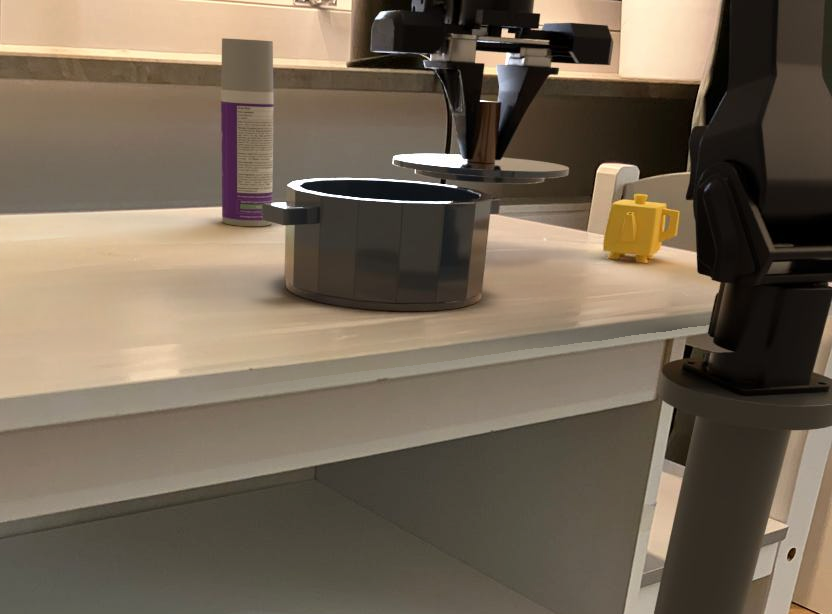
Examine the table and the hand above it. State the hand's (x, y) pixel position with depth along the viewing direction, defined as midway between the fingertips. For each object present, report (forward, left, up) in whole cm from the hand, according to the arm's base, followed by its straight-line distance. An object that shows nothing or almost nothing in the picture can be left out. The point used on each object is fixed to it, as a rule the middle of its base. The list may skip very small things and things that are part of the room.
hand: (481, 159), depth 87 cm
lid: (0, 0, -1) cm, 1 cm away
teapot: (-4, -14, -8) cm, 16 cm away
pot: (-16, +14, -7) cm, 22 cm away
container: (+16, +16, -8) cm, 24 cm away
